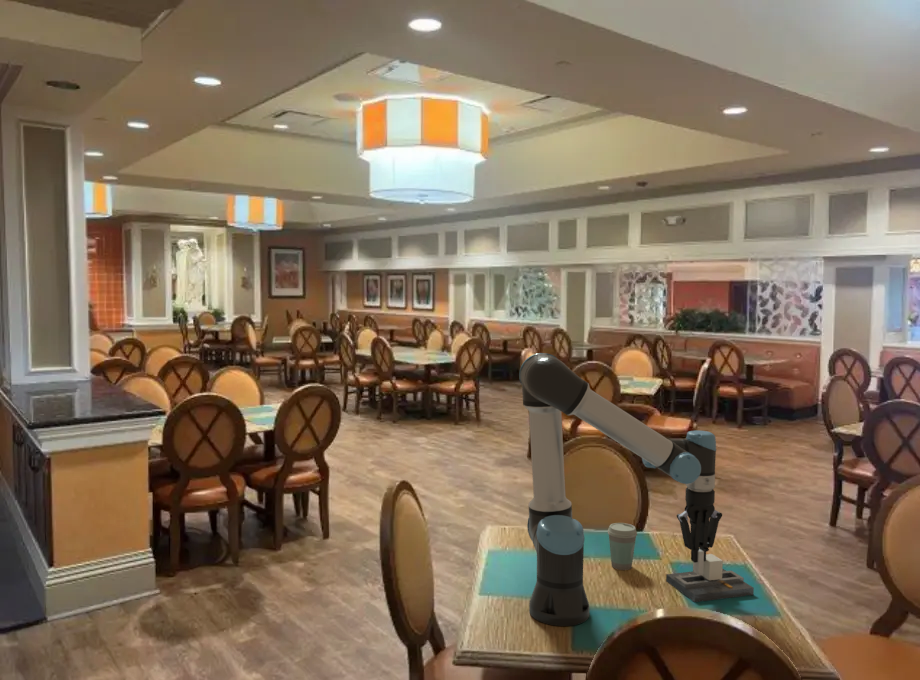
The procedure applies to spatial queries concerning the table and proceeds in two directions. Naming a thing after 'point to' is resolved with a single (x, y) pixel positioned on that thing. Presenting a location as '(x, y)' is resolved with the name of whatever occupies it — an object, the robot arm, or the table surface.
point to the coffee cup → (622, 545)
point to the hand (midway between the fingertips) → (698, 572)
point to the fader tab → (712, 568)
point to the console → (709, 586)
